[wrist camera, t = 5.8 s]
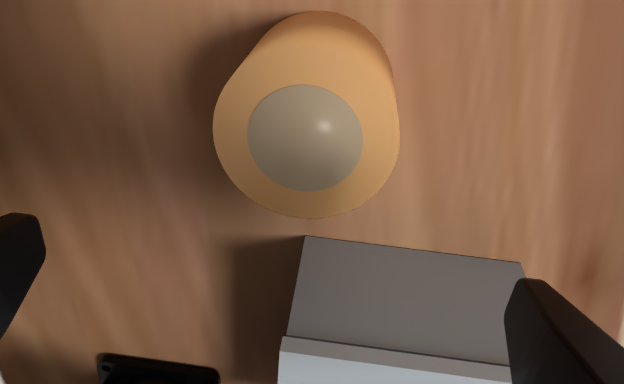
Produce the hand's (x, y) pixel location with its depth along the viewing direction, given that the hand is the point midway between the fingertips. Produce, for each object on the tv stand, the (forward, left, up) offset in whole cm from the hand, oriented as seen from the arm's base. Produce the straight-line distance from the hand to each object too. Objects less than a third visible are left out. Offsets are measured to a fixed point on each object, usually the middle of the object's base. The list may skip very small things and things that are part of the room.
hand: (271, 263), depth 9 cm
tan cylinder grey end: (0, 0, -10) cm, 10 cm away
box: (+5, -11, -10) cm, 15 cm away
